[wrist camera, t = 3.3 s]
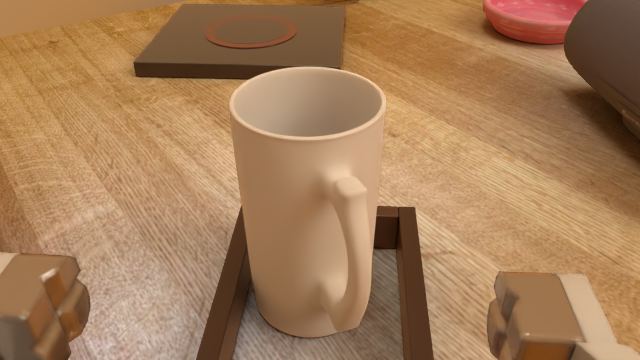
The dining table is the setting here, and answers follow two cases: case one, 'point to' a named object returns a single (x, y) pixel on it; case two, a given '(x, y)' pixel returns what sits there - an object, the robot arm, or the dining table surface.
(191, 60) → the hob
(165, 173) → the dining table surface
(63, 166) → the dining table surface
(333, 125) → the mug
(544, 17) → the saucer
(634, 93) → the bluetooth speaker
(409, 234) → the brown wooden frame
